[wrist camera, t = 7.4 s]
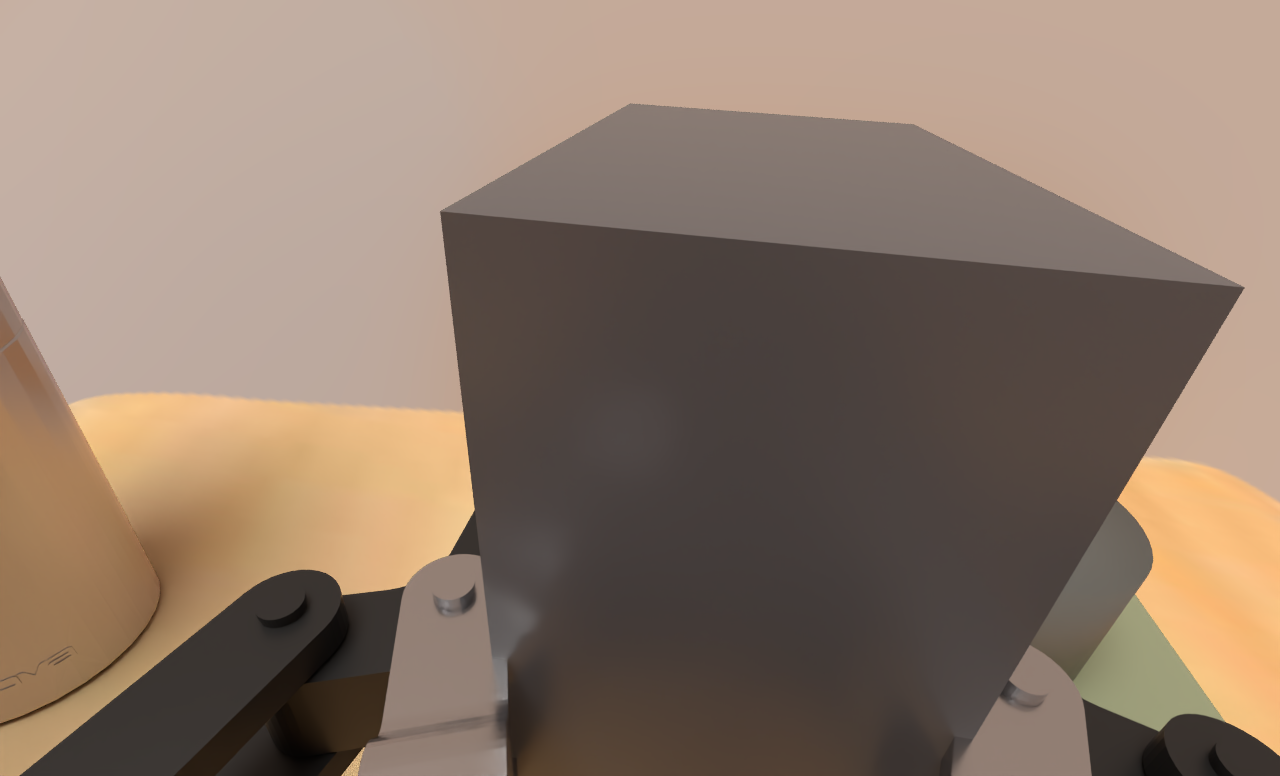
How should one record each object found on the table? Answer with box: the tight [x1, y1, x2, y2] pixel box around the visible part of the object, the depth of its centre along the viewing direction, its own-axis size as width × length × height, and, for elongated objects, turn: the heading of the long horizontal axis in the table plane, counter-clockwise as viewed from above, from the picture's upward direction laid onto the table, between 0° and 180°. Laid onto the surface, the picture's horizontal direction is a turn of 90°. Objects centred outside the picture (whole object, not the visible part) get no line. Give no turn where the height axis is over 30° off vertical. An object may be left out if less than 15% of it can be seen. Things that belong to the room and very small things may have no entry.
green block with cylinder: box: [1030, 501, 1225, 732], centre depth 20 cm, size 20×16×11 cm
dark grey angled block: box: [440, 104, 1244, 776], centre depth 11 cm, size 8×5×15 cm, turn 172°
